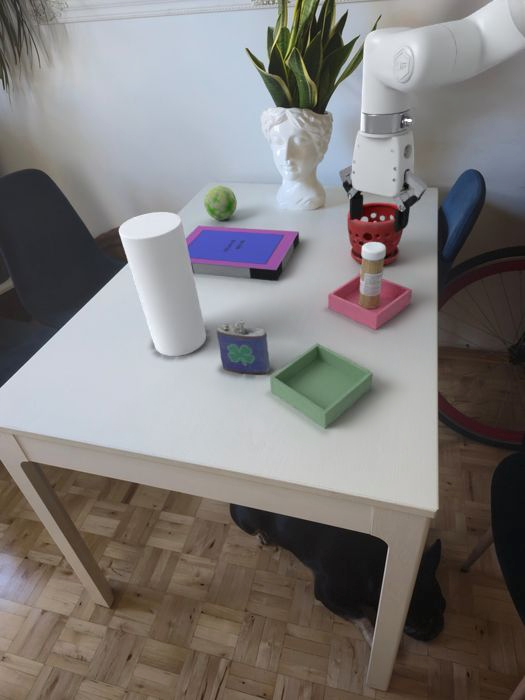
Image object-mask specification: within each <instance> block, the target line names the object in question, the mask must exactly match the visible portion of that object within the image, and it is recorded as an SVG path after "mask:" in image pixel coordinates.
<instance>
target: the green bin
mask: <svg viewBox="0 0 525 700" xmlns="http://www.w3.org/2000/svg"><path fill="white" fill-rule="evenodd" d="M373 376H374V373H373V372H372V371H370V370H368V369H367V368H365V367H362V366H361V365H359V364H357V363H355V362H353V361H351V360H350V359H348V358H346V357H344V356H343V355H341V354H338V353H337V352H335V351H333V350H331V349H329V348H328V347H326V346H323V345H321V344H320V343H318V342H317V343H315V344H314V345H312V346H311V347H310V348H309V349H307V350H306V351H304V352H303V353H302V354H300V355H299V356H297V357H296V358H295V359H293V360H292V361H291V362H289V363H287V364H286V365H285V366H284V367H282V368H281V369H279V370H278V371H277V372H275V373H274V374H272V375H271V376H270V377H269V384H270V392H271V394H274V395H275V396H276V397H278V398H279V399H281V400H282V401H284V402H285V403H287V404H288V405H290V406H291V407H293V409H295V410H296V411H298V412H299V413H301V414H302V415H304V416H306V417H307V418H309V419H310V420H312V421H313V422H315V423H316V424H317V425H319V426H321V427H322V428H323V429H327V428H328V427H329V426H330V425H331V424H332V423H333V422H335V421H336V420H337V419H338V418H339V417H340V416H341V415H342V414H344V413H345V412H346V411H347V410H348V409H350V407H351V406H353V405H354V404H355V403H356V402H357V401H358V400H359V399H361V398H362V397H363V396H364V395H365V394H367V393H368V391H370V390H371V389H372V387H373Z"/></svg>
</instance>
